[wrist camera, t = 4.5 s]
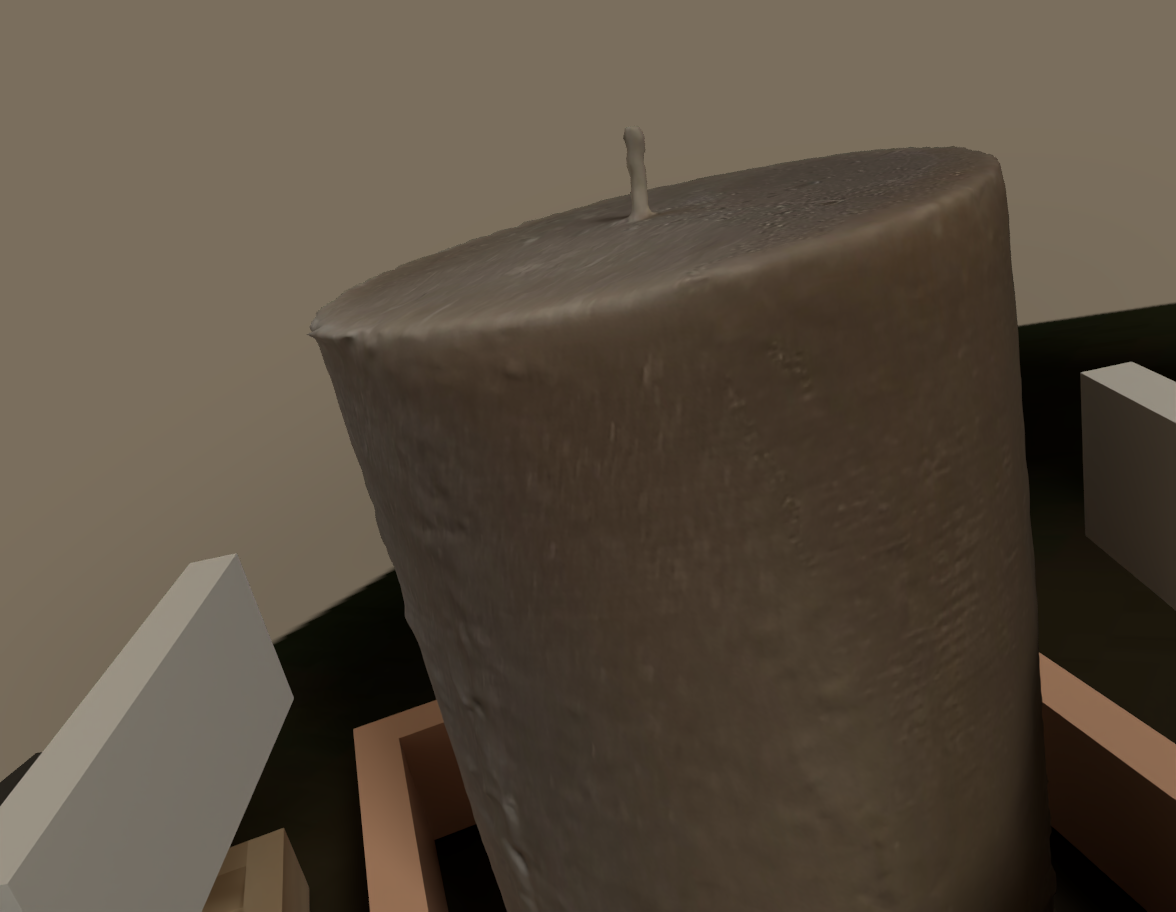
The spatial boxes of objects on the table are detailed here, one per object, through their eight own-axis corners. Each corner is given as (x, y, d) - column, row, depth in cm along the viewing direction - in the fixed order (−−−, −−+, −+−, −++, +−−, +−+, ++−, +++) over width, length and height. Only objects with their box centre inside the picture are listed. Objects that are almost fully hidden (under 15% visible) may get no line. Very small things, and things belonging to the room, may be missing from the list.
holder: (889, 640, 26) (878, 544, 25) (1463, 1112, 13) (1489, 955, 12) (389, 827, 23) (353, 729, 22) (499, 1650, 10) (425, 1510, 9)
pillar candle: (1158, 891, 17) (1143, 6, 12) (857, 1399, 12) (599, 164, 7) (744, 717, 25) (627, 116, 20) (437, 980, 19) (160, 234, 14)
